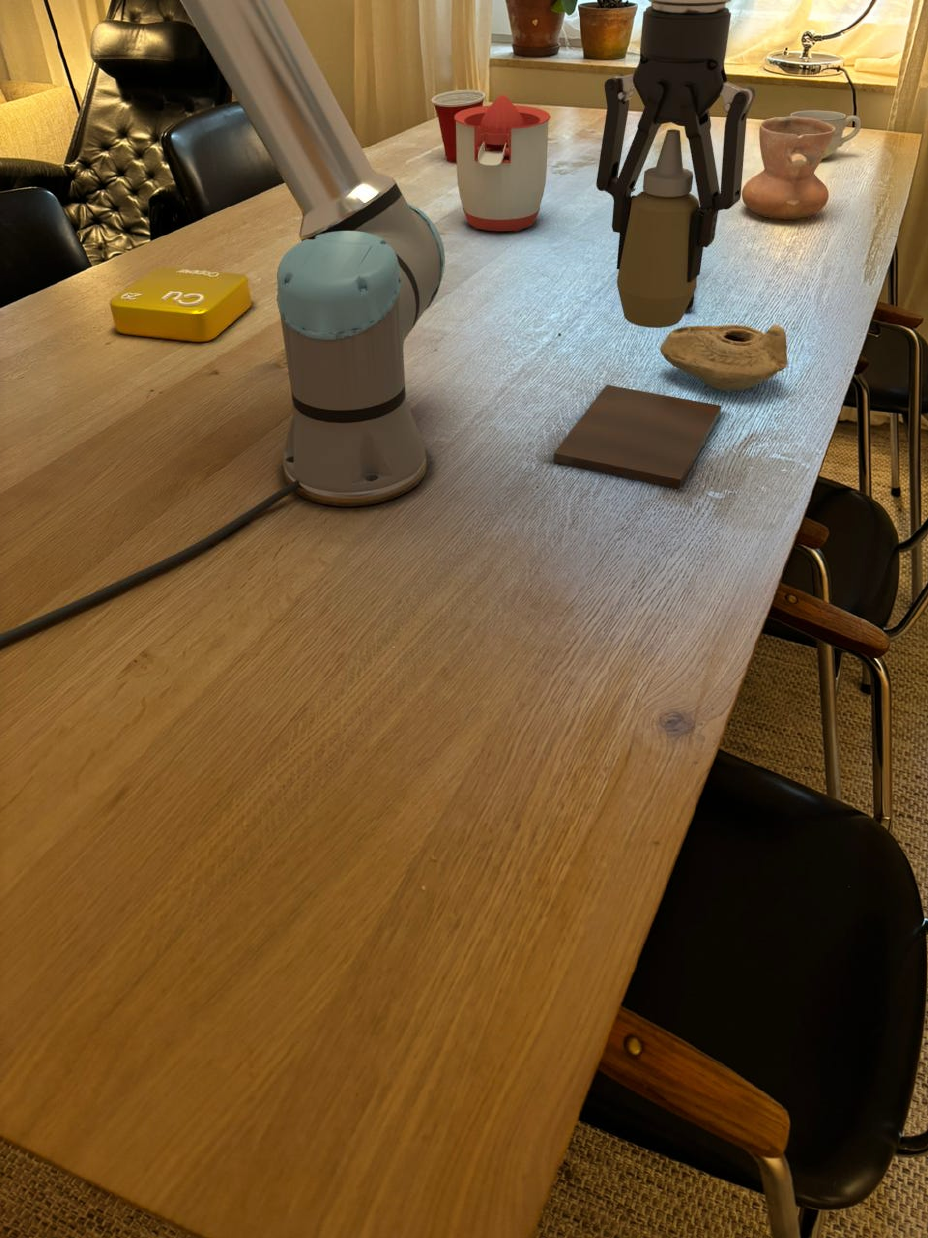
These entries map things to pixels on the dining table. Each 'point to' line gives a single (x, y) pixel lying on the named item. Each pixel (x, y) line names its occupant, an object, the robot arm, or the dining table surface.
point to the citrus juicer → (501, 164)
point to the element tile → (181, 304)
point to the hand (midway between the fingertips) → (657, 270)
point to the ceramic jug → (789, 168)
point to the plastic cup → (446, 111)
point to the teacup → (836, 121)
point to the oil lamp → (727, 354)
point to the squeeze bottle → (659, 243)
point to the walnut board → (639, 436)
